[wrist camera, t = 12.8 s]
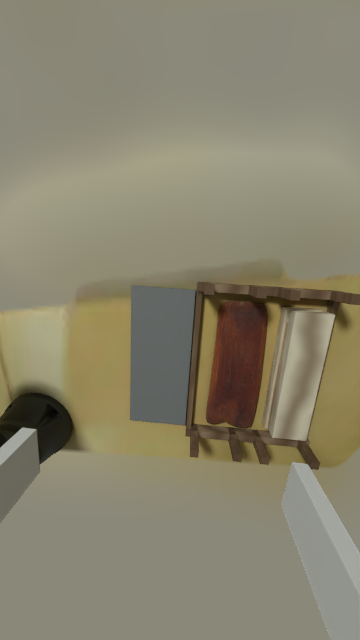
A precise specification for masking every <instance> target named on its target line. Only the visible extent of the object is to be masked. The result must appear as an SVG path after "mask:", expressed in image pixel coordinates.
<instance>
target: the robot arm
mask: <svg viewBox="0 0 360 640" xmlns="http://www.w3.org/2000/svg"><path fill="white" fill-rule="evenodd" d="M72 430H73V425H72V420H71V417H70V415H69V413H68V411H67V410H66V408H65V407H64V406H63V405H62V404H61V403H60V402H58V401H57V400H55V399H54V398H52V397H50V396H47V395H44V394H39V393H30V394H25V395H22V396H20V397H19V398H17V399H16V400H14V401H13V402H12V403H11V404H10V405H9V406H8V407H7V409H6V410H5V412H4V414H3V415H2V416H1V417H0V523H1V522H2V520H3V519H4V518H5V516H6V515H7V514H8V513H9V511H10V510H11V509H12V507H13V506H14V505H15V503H16V502H17V501H18V500H19V498H20V497H21V496H22V494H23V493H24V492H25V490H26V489H27V488H28V486H29V485H30V484H31V483H32V481H33V480H34V479H35V477H36V476H37V475H38V474H39V472H40V464H41V463H43V462H44V461H45V460H46V459H47V458H49V457H50V456H51V455H53V454H54V453H56V452H58V451H59V450H61V449H62V448H63V447H64V446H65V445H66V443H67V442H68V441H69V439H70V437H71V435H72ZM281 506H282V509H283V511H284V514H285V517H286V520H287V523H288V525H289V528H290V531H291V534H292V536H293V539H294V542H295V544H296V547H297V550H298V553H299V555H300V558H301V561H302V564H303V566H304V569H305V572H306V575H307V577H308V580H309V583H310V586H311V588H312V591H313V594H314V596H315V599H316V602H317V605H318V607H319V610H320V613H321V615H322V618H323V621H324V624H325V626H326V629H327V632H328V635H329V637H330V640H360V553H359V552H358V550H357V548H356V546H355V545H354V543H353V541H352V539H351V538H350V536H349V535H348V533H347V531H346V529H345V527H344V526H343V524H342V522H341V521H340V519H339V517H338V515H337V514H336V512H335V510H334V509H333V507H332V505H331V503H330V502H329V500H328V498H327V497H326V495H325V493H324V492H323V490H322V488H321V486H320V485H319V483H318V481H317V479H316V478H315V476H314V474H313V473H312V471H311V469H310V467H309V465H308V464H302V463H295V462H292V464H291V468H290V472H289V476H288V480H287V484H286V488H285V492H284V495H283V500H282V503H281Z"/></svg>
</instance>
